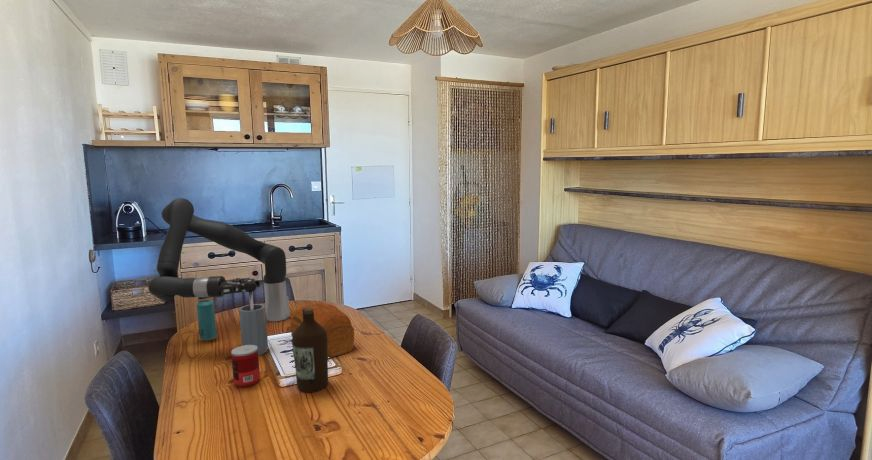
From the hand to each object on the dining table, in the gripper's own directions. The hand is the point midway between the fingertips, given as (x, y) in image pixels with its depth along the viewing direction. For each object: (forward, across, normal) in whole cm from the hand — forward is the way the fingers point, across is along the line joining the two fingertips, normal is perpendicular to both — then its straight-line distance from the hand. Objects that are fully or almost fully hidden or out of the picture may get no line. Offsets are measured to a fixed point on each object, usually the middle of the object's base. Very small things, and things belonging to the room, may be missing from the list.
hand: (257, 284), depth 174 cm
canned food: (+2, -25, +26) cm, 36 cm away
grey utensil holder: (-3, 0, +26) cm, 26 cm away
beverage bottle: (-25, +14, +26) cm, 39 cm away
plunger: (-3, 0, +22) cm, 22 cm away
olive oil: (+24, -30, +26) cm, 46 cm away
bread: (+21, +3, +26) cm, 34 cm away
